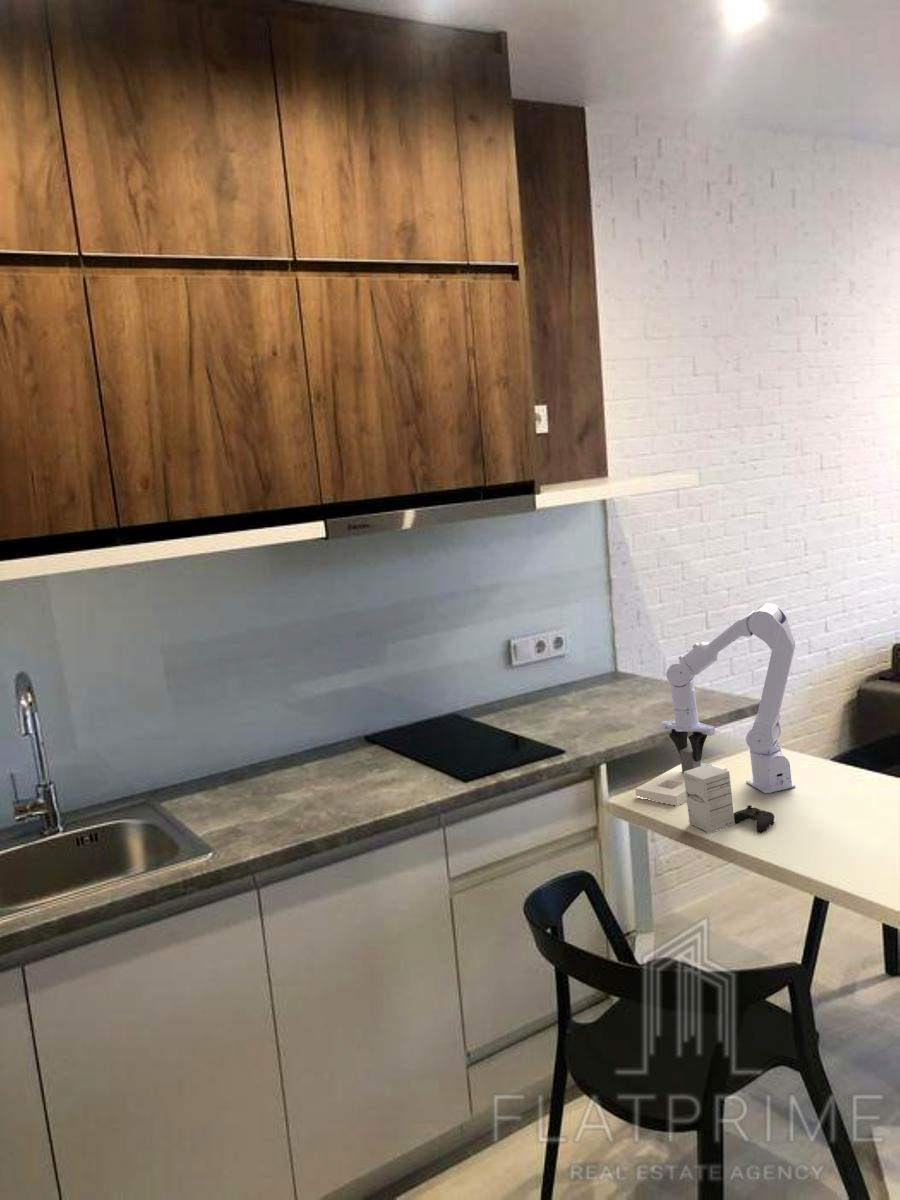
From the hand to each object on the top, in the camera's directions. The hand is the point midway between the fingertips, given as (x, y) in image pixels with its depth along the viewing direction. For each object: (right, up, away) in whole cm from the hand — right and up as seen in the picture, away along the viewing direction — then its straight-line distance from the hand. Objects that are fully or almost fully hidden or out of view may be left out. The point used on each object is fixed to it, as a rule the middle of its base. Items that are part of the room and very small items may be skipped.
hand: (691, 759), depth 235 cm
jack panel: (-3, -7, -3) cm, 8 cm away
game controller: (+6, -10, -31) cm, 32 cm away
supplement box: (-2, -10, -27) cm, 29 cm away
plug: (0, -3, 0) cm, 3 cm away
